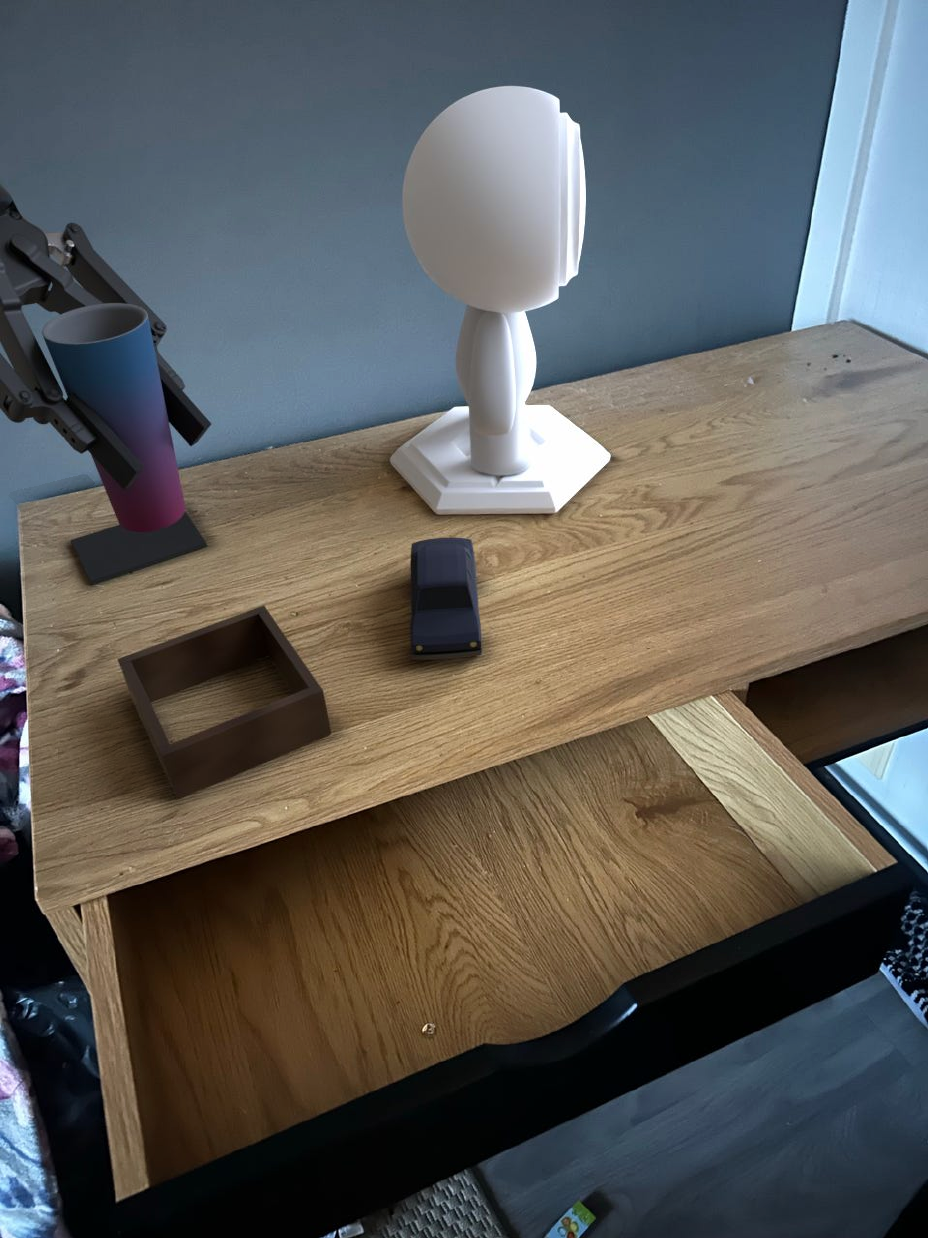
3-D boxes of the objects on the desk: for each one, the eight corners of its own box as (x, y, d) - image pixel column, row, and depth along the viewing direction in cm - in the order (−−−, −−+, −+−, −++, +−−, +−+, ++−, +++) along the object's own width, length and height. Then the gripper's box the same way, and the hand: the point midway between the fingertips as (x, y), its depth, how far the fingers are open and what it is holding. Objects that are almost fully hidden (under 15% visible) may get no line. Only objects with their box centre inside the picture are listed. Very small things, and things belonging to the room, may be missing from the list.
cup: (191, 482, 77) (142, 296, 68) (203, 526, 72) (153, 331, 63) (102, 502, 76) (40, 313, 66) (109, 548, 71) (42, 351, 61)
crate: (177, 800, 69) (161, 755, 66) (133, 701, 77) (117, 658, 74) (331, 734, 73) (323, 689, 70) (273, 647, 81) (264, 604, 78)
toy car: (411, 672, 78) (405, 624, 75) (411, 565, 89) (406, 518, 86) (485, 667, 78) (482, 618, 75) (475, 560, 89) (472, 514, 86)
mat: (91, 585, 89) (89, 581, 89) (71, 544, 95) (70, 539, 94) (207, 546, 93) (206, 542, 93) (182, 508, 99) (181, 504, 98)
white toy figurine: (615, 513, 94) (637, 110, 72) (378, 515, 96) (328, 123, 74) (605, 415, 109) (620, 59, 87) (401, 419, 111) (365, 71, 89)
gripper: (29, 187, 75) (236, 424, 78) (-209, 269, 62) (49, 547, 66) (55, 115, 69) (276, 373, 72) (-201, 190, 57) (81, 498, 60)
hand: (168, 455), depth 69 cm, fingers closed on cup, 6 cm apart
